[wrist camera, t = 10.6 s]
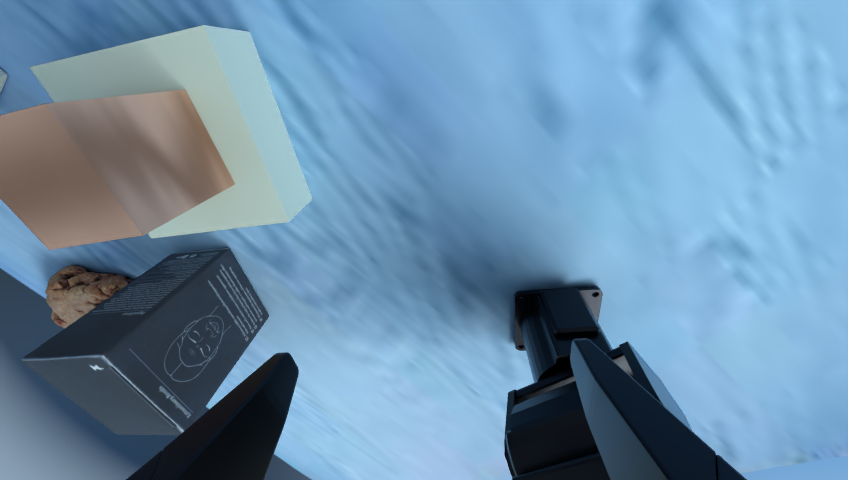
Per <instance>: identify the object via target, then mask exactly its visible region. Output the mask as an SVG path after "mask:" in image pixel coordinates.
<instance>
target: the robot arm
mask: <svg viewBox="0 0 848 480" xmlns="http://www.w3.org/2000/svg"><path fill="white" fill-rule="evenodd" d="M594 292H596V293H594ZM593 293H594V294H593ZM520 297H523V298H521V299H519V298H520ZM601 300H602V291H601V289H600V288H599V287H597V286H589V287H575V288H561V289H547V290H532V291H520V292H517V293H515V295H514V332H515V347H516V349H517V350H520V351H524V350H526V352H527V356H528V359H529V363H530V367H531V371H532V375H533V379H534V383H533V384H531V385H528V386H526V387H524V388H521V389H519V390H513V391H510V392H508V402H507V415H506V427H505V440H504V442H505V458H506V460H507V463H508V467H509V470H510V473H511V475H512V477H513V478H512V480H747V479H745V478H744V477H743V476H742V475H741V474H740V473H739V472H737V471H736V470H735V469H734V468H733V467H732V466H731V465H730V464H728V463H727V462H726V461H725V460H724V459H723V458H722V457H721V456H719V455H716V453H715V451H714V450H713V449H711V448H710V447H709V446H708V445H707V444H706V443H705V442H704V441H702V440H701V439H700V438H699V437H698V436H697V435H696V434H695V433H694V432H692V430H691V427H690V425H689V423H688V421H687V419H686V417H685V415H684V413H683V412H682V410H681V409H680V408H679V406H678V405H677V403H676V402H675V400H674V399H673V397H672V396H671V394H670V393H669V392H668V390H667V389H666V387H665V386H664V384H663V383H662V381H661V380H660V379H659V377H658V376H657V375H656V374H655V373H654V372H653V370H652V369H651V368H650V367H649V366H648V365H647V363H646V362H645V361H644V360H643V359H642V358H641V356H640V355H639V354H638V353H637V352H636V350H635V349H634V348H633V347H632V346H631V345H630V343H629V342H625V343H623V344H621V345H619V346H620V347H618V348H616V349H612V347H611V345H610V343H609V342H608V340H607V338H606V336H605V334H604V333H603V331H602V329H601V327H600V325H599V324H598V318H599V312H600V306H601ZM298 373H299V371H298V367H297V365H296V363H295V361H294V360H293V358H292V356H291V355H290V354H289V353H287V352H286V353H277V354H275V355H273V356H272V357H271V358H270V359H269V360H268V361H266V362H265V363H264V364H263V365H262V366H260V367H259V368H258V369H257V370H256V371H255V372H253V373H252V374H251V375H250V376H249V377H247V378H246V379H245V380H244V381H243V382H242V383H240V384H239V385H238V386H237V387H236V388H234V389H233V390H232V391H231V392H230V393H229V394H227V395H226V396H225V397H224V398H223V399H221V400H220V401H219V402H218V403H217V404H216V405H214V406H213V407H212V408H211V409H210V410H208V411H207V412H206V413H205V414H204V415H203V416H201V417H200V418H199V419H198V420H197V421H195V422H194V423H193V424H192V425H191V426H190V427H188V428H187V429H186V430H185V431H184V432H182V433H181V434H180V435H179V436H178V437H177V438H175V439H174V440H173V441H172V442H171V443H170V444H168V445H167V446H166V447H165V448H164V449H163V451H160V452H159V453H158V454H156V455H155V456H154V457H153V458H152V459H150V460H149V461H148V462H147V463H146V464H145V465H143V466H142V467H141V468H140V469H139V470H137V471H136V472H135V473H134V474H132V475H131V476H130V477H129V478H128V479H126V480H264V478H265V475H266V473H267V470H268V467H269V465H270V462H271V459H272V456H273V454H274V451H275V449H276V446H277V443H278V441H279V438H280V435H281V433H282V430H283V427H284V424H285V421H286V418H287V415H288V411H289V407H290V404H291V400H292V396H293V393H294V389H295V385H296V382H297V378H298Z"/></svg>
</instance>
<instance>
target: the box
mask: <svg viewBox="0 0 848 480" xmlns="http://www.w3.org/2000/svg"><path fill="white" fill-rule="evenodd" d="M268 317H269V315H268V313H267V311H266V310H265V308H264V306H263V305H262V303H261V301H260V300H259V298H258V296H257V294H256V293H255V291H254V289H253V288H252V286H251V284H250V283H249V281H248V279H247V278H246V276H245V274H244V272H243V271H242V269H241V267H240V266H239V264H238V262H237V261H236V259H235V257H234V255H233V254H232V252H231V250H230V249H229V248H222V249H211V250H201V251H192V252H182V253H174V254H171V255H170V256H168V257H166V258H165V259H164V260H162V261H161V262H159V263H158V264H157V265H155V266H154V267H152V268H151V269H149V270H148V271H146V272H145V273H144V274H142V275H141V276H139V277H138V278H136V279H135V280H134V281H132V282H131V283H129V284H128V285H126V286H125V287H124V288H122V289H121V290H119V291H118V292H116V293H115V294H114V295H112V296H111V297H110V298H108V299H107V300H105V301H104V302H102V303H101V304H99V305H98V306H96V307H95V308H93V309H92V310H91V311H89V312H88V313H87V314H85V315H84V316H82V317H80V318H79V319H78V320H76V321H75V322H74V323H72V324H70V325H69V326H68V327H66V328H65V329H64V330H62V331H61V332H59V333H58V334H56V335H55V336H54V337H52V338H51V339H49V340H48V341H46V342H45V343H43V344H42V345H41V346H40V347H38V348H37V349H35V350H34V351H32V352H31V353H29V354H28V355H26V356H25V357H24V358H22V360H21V361H22V362H23V363H24V364H26V365H27V366H28V367H29V368H31V369H32V370H33V371H35V372H36V373H37V374H39V375H40V376H41V377H43V378H44V379H45V380H46V381H47V382H49V383H50V384H51V385H53V386H54V387H55V388H57V389H58V390H59V391H61V392H62V393H63V394H64V395H66V396H67V397H68V398H69V399H71V400H72V401H73V402H75V403H76V404H77V405H79V406H80V407H81V408H83V409H84V410H85V411H86V412H88V413H89V414H90V415H91V416H93V417H94V418H96V419H97V420H98V421H100V422H101V423H102V424H103V425H105V426H106V427H107V428H108V429H110V430H111V431H112V432H114V433H115V434H136V435H137V434H138V435H180V434H181V433H182V432H184V431H185V430H186V429H187V428H188V427H190V426H191V425H192V424H193V423H194V422H195V421H196V419H197V418H198V416H199V415H200V414H201V412H202V411H203V409H204V408H205V407H206V405H207V404H208V402H209V401H210V399H211V398H212V396H213V395H214V394H215V392H216V391H217V389H218V388H219V387H220V385H221V384H222V382H223V381H224V379H225V378H226V377H227V375H228V374H229V372H230V371H231V370H232V368H233V367H234V365H235V364H236V362H237V361H238V360H239V358H240V357H241V355H242V354H243V353H244V351H245V350H246V348H247V347H248V345H249V344H250V343H251V341H252V340H253V338H254V337H255V336H256V334H257V333H258V331H259V330H260V329H261V327H262V326H263V324H264V323H265V321H266V320H267V319H268Z"/></svg>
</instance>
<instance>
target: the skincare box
mask: <svg viewBox="0 0 848 480" xmlns="http://www.w3.org/2000/svg"><path fill="white" fill-rule="evenodd" d="M7 77H8V76H7V74H6V73H5V72H4V71H3V70H1V69H0V93H1V91H2V88H3V86H4V84H5V82H6V79H7Z"/></svg>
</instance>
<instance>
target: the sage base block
mask: <svg viewBox="0 0 848 480" xmlns="http://www.w3.org/2000/svg"><path fill="white" fill-rule="evenodd" d="M30 69H31V70H32V72H33V73H34V74H35V76H36V77H37V79H38V80H39V81H40V83H41V84H42V86H43V87H44V88H45V90H46V91H47V93H48V94H49V96H50V97H51V98H52V100H53V101H54V103H56V102H66V101H76V100H86V99H96V98H106V97H115V96H125V95H135V94H145V93H155V92H165V91H175V90H185V89H186V91H187V93H188V95H189V97H190V99H191V101H192V103H193V105H194V107H195V108H196V110H197V112H198V114H199V116H200V118H201V120H202V122H203V124H204V126H205V128H206V129H207V131H208V133H209V135H210V137H211V139H212V141H213V143H214V145H215V147H216V148H217V150H218V152H219V154H220V156H221V158H222V160H223V162H224V164H225V166H226V168H227V169H228V171H229V173H230V175H231V177H232V179H233V181H234V183H235V185H233V186H231V187H229V188H228V189H226V190H224V191H222V192H220V193H219V194H217V195H215V196H213V197H211V198H210V199H208V200H206V201H204V202H203V203H201V204H199V205H197V206H195V207H194V208H192V209H190V210H188V211H186V212H185V213H183V214H181V215H179V216H177V217H176V218H174V219H172V220H170V221H168V222H167V223H165V224H163V225H161V226H159V227H158V228H156V229H154V230H152V231H151V232H149V233H148V235H149V236H150V238H151V239H152V238H161V237H169V236H177V235H185V234H194V233H202V232H210V231H219V230H227V229H235V228H243V227H252V226H260V225H268V224H276V223H285V222H290V221H291V220H292V219H293V218H294V217H295V216H296V215H297V214H298V213H299V212H300V211H301V210H302V209H303V208H304V207H305V206H306V205H307V204H308V203H309V202H310V201H311V200H312V196H311V194H310V191H309V188H308V186H307V183H306V180H305V178H304V175H303V172H302V170H301V167H300V164H299V162H298V159H297V156H296V154H295V151H294V148H293V146H292V143H291V140H290V138H289V135H288V132H287V130H286V127H285V124H284V122H283V119H282V116H281V114H280V111H279V108H278V106H277V103H276V100H275V98H274V95H273V92H272V90H271V87H270V84H269V82H268V79H267V77H266V74H265V71H264V69H263V66H262V63H261V61H260V58H259V55H258V53H257V50H256V47H255V45H254V42H253V39H252V37H251V34H250V32H248V31H241V30H234V29H227V28H220V27H214V26H207V25H202V26H198V27H193V28H189V29H185V30H181V31H177V32H173V33H169V34H164V35H160V36H156V37H152V38H148V39H144V40H140V41H135V42H131V43H127V44H123V45H119V46H115V47H110V48H106V49H102V50H98V51H94V52H90V53H86V54H81V55H77V56H73V57H69V58H65V59H61V60H57V61H52V62H48V63H44V64H40V65H36V66H32V67H30Z"/></svg>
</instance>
